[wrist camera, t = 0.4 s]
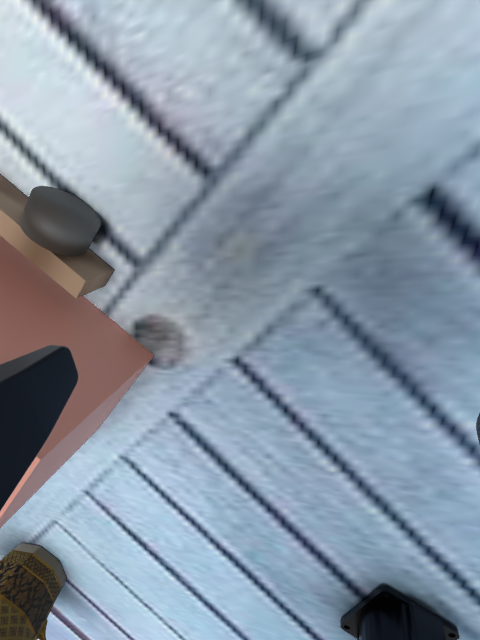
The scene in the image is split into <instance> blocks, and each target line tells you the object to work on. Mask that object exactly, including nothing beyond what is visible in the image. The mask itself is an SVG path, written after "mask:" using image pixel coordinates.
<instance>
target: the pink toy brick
mask: <svg viewBox="0 0 480 640" xmlns="http://www.w3.org/2000/svg"><path fill="white" fill-rule="evenodd" d="M49 345H59V346H66V347H68V348H69V349H70V351H71V353H72V356H73V359H74V362H75V365H76V368H77V371H78V382H77V385H76V386H75V388H74V390H73V392H72V394H71V396H70V398H69V400H68V402H67V404H66V405H65V407H64V409H63V411H62V413H61V415H60V417H59V419H58V421H57V422H56V424H55V426H54V428H53V430H52V432H51V434H50V435H49V437H48V439H47V440H46V442H45V444H44V445H43V447H42V448H41V450H40V452H39V453H38V455H37V456H36V458H35V459H34V461H33V462H32V464H31V465H30V467H29V468H28V470H27V471H26V473H25V474H24V476H23V477H22V479H21V480H20V482H19V484H18V485H17V487H16V488H15V490H14V491H13V493H12V494H11V496H10V497H9V499H8V500H7V502H6V503H5V505H4V506H3V508H2V509H1V511H0V528H1V527H2V526H3V525H4V524H5V523H6V522H7V521H8V520H9V519H10V518H11V517H12V516H13V515H14V514H15V513H16V512H17V511H18V510H19V509H20V508H21V507H22V506H23V505H24V504H25V503H26V501H27V500H28V499H29V498H30V497H31V496H32V495H33V494H34V493H35V492H36V491H37V490H38V489H39V488H40V487H41V486H42V485H43V484H44V483H45V482H46V481H47V480H48V479H49V478H50V477H51V476H52V475H53V474H54V473H55V472H56V471H57V470H58V469H59V468H60V467H61V466H62V465H63V464H64V463H65V462H66V461H67V460H68V459H69V458H70V457H71V456H72V455H73V454H74V453H75V452H76V451H77V450H78V449H79V448H80V447H81V446H82V445H83V444H84V443H85V442H86V441H87V440H88V439H89V438H90V437H91V436H92V435H93V434H94V433H95V432H96V431H97V430H98V428H99V427H100V426H101V424H102V423H103V422H104V420H105V419H106V418H107V417H108V415H109V414H110V413H111V411H112V410H113V409H114V407H115V406H116V405H117V403H118V402H119V401H120V400H121V398H122V397H123V396H124V394H125V393H126V392H127V390H128V389H129V388H130V386H131V385H132V384H133V383H134V381H135V380H136V379H137V377H138V376H139V375H140V373H141V372H142V371H143V369H144V368H145V367H146V366H147V364H148V363H149V362H150V360H151V359H152V358H153V356H154V355H153V354H152V353H151V352H150V351H149V350H147V349H146V348H145V347H144V346H143V345H141V344H140V343H139V342H138V341H137V340H135V339H134V338H133V337H132V336H131V335H129V334H128V333H127V332H126V331H125V330H123V329H122V328H121V327H120V326H119V325H117V324H116V323H115V322H114V321H113V320H111V319H110V318H109V317H108V316H107V315H105V314H104V313H103V312H102V311H101V310H99V309H98V308H97V307H96V306H95V305H93V304H92V303H91V302H90V301H89V300H88V299H86V298H85V297H84V296H81V297H78V298H75V297H74V296H72V295H71V294H70V293H69V292H68V291H66V290H65V289H64V288H63V287H62V286H60V285H59V284H58V283H57V282H56V281H54V280H53V279H52V278H51V277H50V276H48V275H47V274H46V273H45V272H44V271H42V270H41V269H40V268H39V267H38V266H36V265H35V264H34V263H33V262H32V261H30V260H29V259H28V258H27V257H26V256H24V255H23V254H22V253H21V252H20V251H18V250H17V249H16V248H15V247H14V246H12V245H11V244H10V243H9V242H8V241H6V240H5V239H4V238H3V237H2V236H0V364H3V363H5V362H8V361H11V360H13V359H16V358H18V357H21V356H23V355H26V354H28V353H31V352H33V351H36V350H38V349H41V348H44V347H46V346H49Z"/></svg>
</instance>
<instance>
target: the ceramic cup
mask: <svg viewBox="0 0 480 640" xmlns="http://www.w3.org/2000/svg"><path fill="white" fill-rule="evenodd" d="M66 579H67V577H66V575H65V572H64V570H63V568H62V565H61V563H60V561H59V560H58V559H57V558H55V557H54V556H53V555H52V554H50V553H49V552H48V551H46V550H45V549H44V548H43V547H41V546H38V545H33V544H27V543H21V544H19V545H18V546H17V547H16V548H15V549H13V550H12V551H11V552H10V553H9V554H8V555H6V556H5V557H4V558H3V559H2V560H1V561H0V640H36V639H38V638H39V639H40V640H46V636H45V631H46V625H47V617H48V615H49V613H50V611H51V609H52V607H53V604H54V602H55V600H56V598H57V597H58V595H59V593H60V591H61V589H62V587H63V585H64V583H65V581H66Z"/></svg>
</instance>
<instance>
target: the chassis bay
mask: <svg viewBox="0 0 480 640" xmlns="http://www.w3.org/2000/svg"><path fill="white" fill-rule="evenodd" d="M100 226H101V220H100V218H99V216H98V214H97V213H96V212H95V211H94V210H93V209H92V208H91V207H90V206H89V205H88V204H86V203H85V202H84V201H82V200H81V199H79V198H77V197H75V196H74V195H72V194H70V193H67V192H65V191H63V190H60V189H57V188H53V187H47V186H39V187H35V188H34V189H32V191H31V194H30V196H29V198H28V197H27V196H26V195H25V194H23V193H22V192H21V191H20V190H19V189H17V188H16V187H15V186H14V185H13V184H11V183H10V182H9V181H8V180H7V179H5V178H4V177H3V176H2V175H1V174H0V236H2V237H3V238H4V239H5V240H6V241H8V242H9V243H10V244H11V245H12V246H14V247H15V248H16V249H17V250H18V251H20V252H21V253H22V254H23V255H24V256H26V257H27V258H28V259H29V260H30V261H32V262H33V263H34V264H35V265H36V266H38V267H39V268H40V269H41V270H42V271H44V272H45V273H46V274H47V275H48V276H50V277H51V278H52V279H53V280H54V281H56V282H57V283H58V284H59V285H60V286H62V287H63V288H64V289H65V290H66V291H68V292H69V293H70V294H71V295H72V296H74V297H75V298H78V297H81V296H83V295H85V294H88V293H90V292H92V291H94V290H97V289H99V288H101V287H103V286H105V285H106V283H107V282H108V280H109V278H110V276H111V275H112V273H113V271H114V269H113V268H112V267H110V266H109V265H108V264H107V263H106V262H104V261H103V260H102V259H101V258H100V257H98V256H97V255H96V254H95V253H94V252H92V251H91V250H90V249H89V247H90V245H91V243H92V241H93V239H94V237H95V235H96V233H97V231H98V230H99V228H100Z"/></svg>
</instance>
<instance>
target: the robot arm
mask: <svg viewBox="0 0 480 640" xmlns="http://www.w3.org/2000/svg"><path fill="white" fill-rule="evenodd" d="M77 382H78V371H77V368H76V365H75V362H74V359H73V356H72V353H71V351H70V349H69V348H68V347H66V346H59V345H49V346H46V347H44V348H41V349H38V350H36V351H33V352H31V353H28V354H26V355H23V356H21V357H18V358H16V359H13V360H11V361H8V362H5V363H3V364H0V511H1V509H2V508H3V506H4V505H5V503H6V502H7V500H8V499H9V497H10V496H11V494H12V493H13V491H14V490H15V488H16V487H17V485H18V484H19V482H20V480H21V479H22V477H23V476H24V474H25V473H26V471H27V470H28V468H29V467H30V465H31V464H32V462H33V461H34V459H35V458H36V456H37V455H38V453H39V452H40V450H41V448H42V447H43V445H44V444H45V442H46V440H47V439H48V437H49V435H50V434H51V432H52V430H53V428H54V426H55V424H56V422H57V421H58V419H59V417H60V415H61V413H62V411H63V409H64V407H65V405H66V404H67V402H68V400H69V398H70V396H71V394H72V392H73V390H74V388H75V386H76V385H77ZM476 430H477V435H478V440H479V444H480V413H479V416H478V418H477V423H476ZM341 628H342V629H343V630H344V631H346V632H348V633H349V634H351V635H353V636H354V637H356V638H357V640H457V639H458V638H459V633H458V629H457V628H456V627H455V626H453V625H451V624H450V623H448V622H446V621H445V620H443V619H441V618H440V617H438V616H436V615H435V614H433V613H431V612H430V611H428V610H426V609H425V608H423V607H421V606H420V605H418V604H416V603H415V602H413V601H411V600H410V599H408V598H406V597H405V596H403V595H401V594H400V593H398V592H396V591H395V590H393V589H391V588H390V587H388V586H381V587H379V588H378V589H377V590H376V591H374V592H373V593H372V594H371V595H370V596H368V597H367V598H366V599H365V600H364V601H362V602H361V603H360V604H359V605H357V606H356V607H355V608H354V609H353V610H351V611H350V612H349V613H348V614H347V615H345V616H344V617H343V618H342V619H341Z"/></svg>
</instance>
